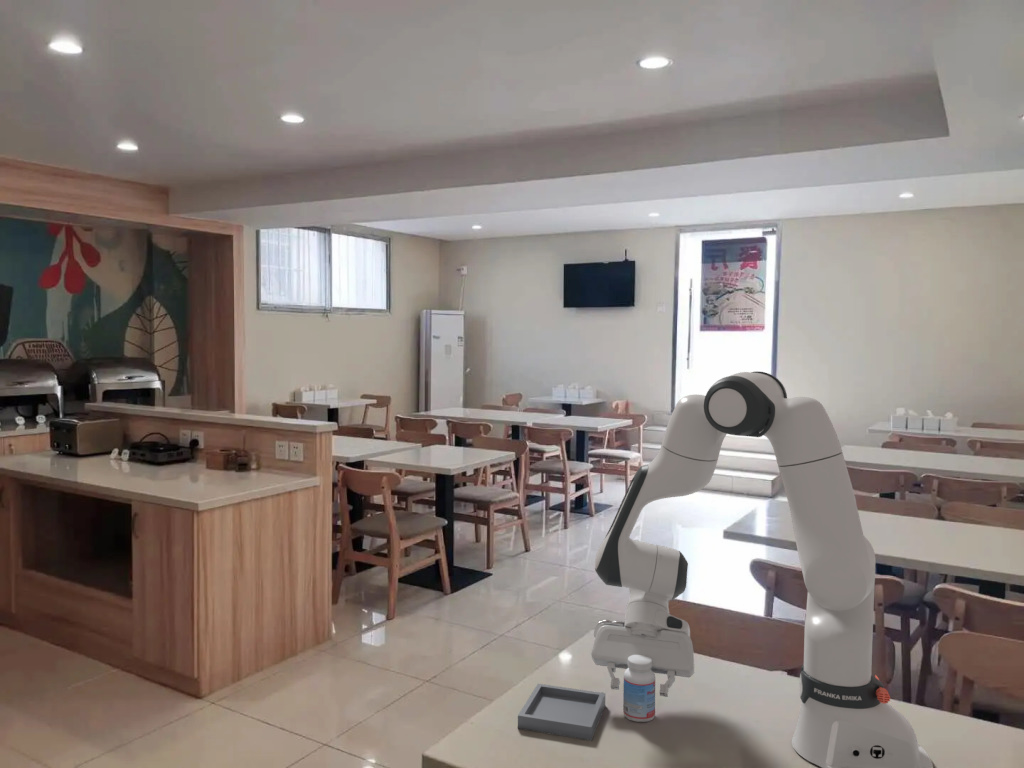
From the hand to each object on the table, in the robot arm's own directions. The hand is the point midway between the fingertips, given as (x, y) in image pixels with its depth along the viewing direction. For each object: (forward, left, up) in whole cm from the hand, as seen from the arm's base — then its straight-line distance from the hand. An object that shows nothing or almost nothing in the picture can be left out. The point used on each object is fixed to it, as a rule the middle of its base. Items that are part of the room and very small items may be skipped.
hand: (638, 691), depth 147 cm
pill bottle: (0, -1, -5) cm, 5 cm away
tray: (+14, +4, -5) cm, 16 cm away
